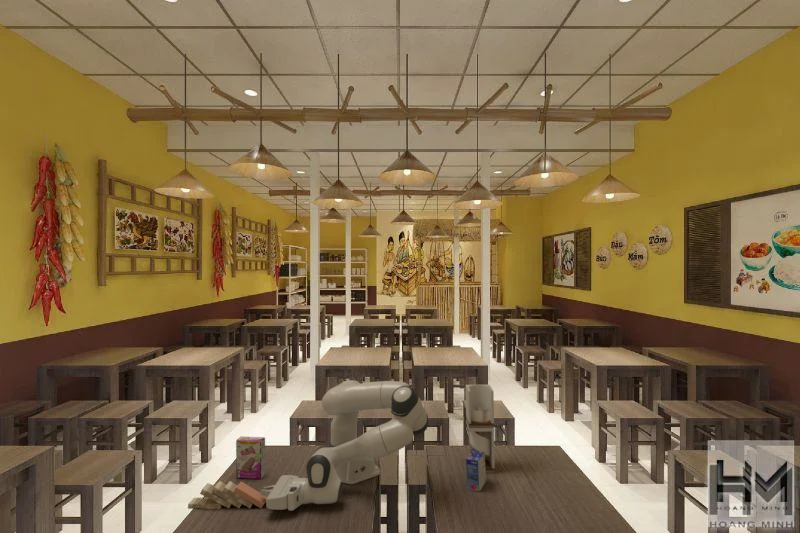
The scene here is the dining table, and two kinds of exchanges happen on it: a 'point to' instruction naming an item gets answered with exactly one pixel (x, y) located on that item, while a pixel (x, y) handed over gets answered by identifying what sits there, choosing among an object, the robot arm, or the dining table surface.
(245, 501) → the cream domino
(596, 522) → the dining table surface
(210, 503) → the cream domino
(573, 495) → the dining table surface
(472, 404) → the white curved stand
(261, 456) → the candy bar box
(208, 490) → the cream domino
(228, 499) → the cream domino
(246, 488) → the terracotta domino
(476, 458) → the ink cartridge box
